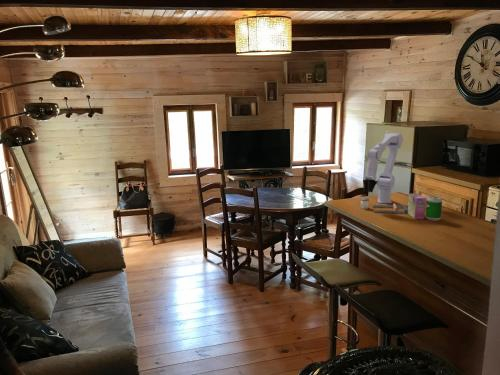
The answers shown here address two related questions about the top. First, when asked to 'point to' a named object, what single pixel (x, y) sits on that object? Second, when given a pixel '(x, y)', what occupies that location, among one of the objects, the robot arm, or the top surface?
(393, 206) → the bar
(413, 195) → the box
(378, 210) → the lane
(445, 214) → the top surface
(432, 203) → the soda can
